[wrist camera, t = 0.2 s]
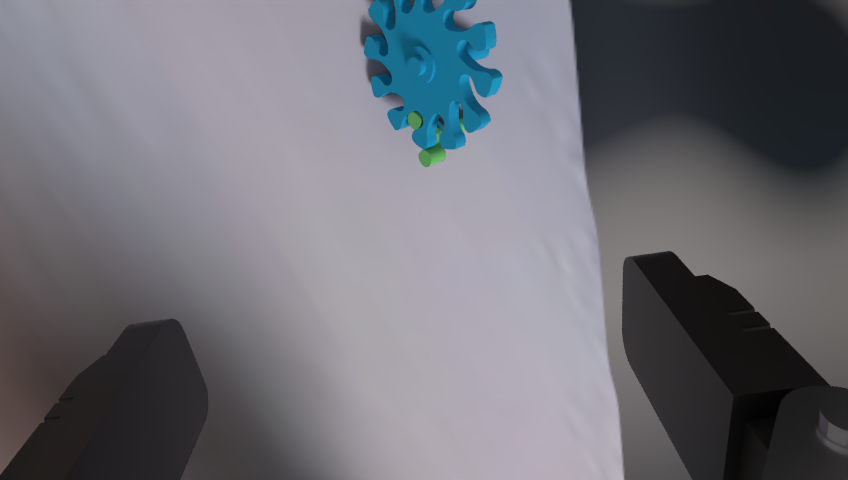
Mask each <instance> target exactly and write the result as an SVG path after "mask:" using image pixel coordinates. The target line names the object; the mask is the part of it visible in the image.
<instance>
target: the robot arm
mask: <svg viewBox="0 0 848 480" xmlns="http://www.w3.org/2000/svg"><path fill="white" fill-rule="evenodd" d="M622 303H623V304H622V335H623V342H624V348H625V351H626V355H627V358H628V361H629V363H630V365H631V368H632V369H633V371H634V373H635V375H636V377H637V379H638V380H639V382H640V384H641V386H642V388H643V389H644V392H645V393H646V395H647V397H648V399H649V401H650V402H651V404H652V406H653V408H654V410H655V412H656V414H657V415H658V417H659V419H660V421H661V423H662V424H663V426H664V428H665V430H666V432H667V434H668V436H669V438H670V439H671V441H672V443H673V445H674V447H675V449H676V450H677V452H678V454H679V456H680V458H681V460H682V462H683V463H684V465H685V467H686V469H687V471H688V472H689V474H690V476H691V478H692V480H848V388H843V387H837V386H830V385H829V384H828V383H827V382H826V381H825V380H824V379H823V378H822V377H821V376H820V375H819V374H818V373H817V372H816V370H814V369H813V367H812V366H811V365H810V364H809V363H808V362H807V361H806V360H805V359H804V358H803V357H802V356H801V355H800V354H799V353H798V352H797V351H796V350H795V349H794V348H793V347H792V346H791V345H790V344H789V343H788V342H787V341H786V340H785V339H784V338H783V337H782V336H781V335H780V334H779V333H778V332H777V331H776V330H775V329H774V328H771V327H770V323H769V322H768V321H767V320H766V319H765V318H764V317H763V316H762V315H761V314H760V313H759V312H755V310H754V307H753V306H752V305H751V304H750V303H749V302H748V301H747V300H746V299H745V298H744V297H743V296H742V295H741V294H740V293H739V292H738V291H737V290H736V289H735V288H733V287H731V286H729V285H727V284H725V283H723V282H721V281H719V280H717V279H715V278H713V277H711V276H709V275H702V276H694V275H693V273H692V272H691V271H690V270H689V269H688V268H687V267H686V266H685V265H684V263H682V261H681V260H680V259H679V258H678V257H677V256H676V255H675V254H674V253H673V252H671V251H667V252H659V253H653V254H645V255H638V256H630V257H627V258H626V259H625V261H624V265H623V302H622ZM207 411H208V394H207V388H206V385H205V382H204V379H203V377H202V374H201V372H200V369H199V367H198V364H197V362H196V359H195V357H194V355H193V352H192V350H191V347H190V345H189V342H188V340H187V337H186V335H185V332H184V330H183V328H182V326H181V324H180V323H179V322H178V321H177V320H175V319H166V320H159V321H151V322H144V323H137V324H131V325H129V326H128V327H127V328H126V329H125V330H124V331H123V333H122V334H121V335H120V337H119V338H118V339H117V341H116V342H115V343H114V345H113V346H112V347H111V349H110V350H109V351H108V353H107V354H106V356H102V357H101V358H99V359H98V360H97V361H96V362H94V363H93V364H92V365H90V366H89V367H88V368H87V369H85V370H84V371H83V372H82V373H80V374H79V375H78V376H77V377H76V378H75V379H74V380H73V382H72V383H71V384H70V386H69V387H68V388H67V389H66V391H65V392H64V393H63V395H62V396H61V397H60V398H59V403H58V404H55V405H54V406H53V408H52V409H51V410H50V411H49V413H48V414H47V415H46V417H45V418H44V419H45V422H44V423H40V424H39V426H38V427H37V428H36V430H35V431H34V432H33V433H32V435H31V436H30V437H29V439H28V440H27V441H26V443H25V444H24V445H23V446H22V448H21V449H20V450H19V452H18V453H17V454H16V455H15V457H14V458H13V459H12V461H11V462H10V463H9V465H8V466H7V467H6V468H5V470H4V471H3V472H2V474H1V475H0V480H180V478H181V476H182V474H183V471H184V469H185V467H186V464H187V462H188V460H189V457H190V455H191V453H192V450H193V448H194V446H195V443H196V441H197V438H198V436H199V434H200V431H201V429H202V427H203V424H204V422H205V419H206V416H207Z"/></svg>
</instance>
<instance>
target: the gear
mask: <svg viewBox="0 0 848 480" xmlns="http://www.w3.org/2000/svg"><path fill="white" fill-rule="evenodd" d="M393 1H394V5H395V14H396V21H395V22H394V8H393V4H392V2H391V0H375V1H374V2H373V3H372V5H371V6H370V8H369V10H368V11H369V15H370V17H371V19H372V20H373V21H374V22H376V23H377V24H378V25H379V27H380V28H381V30H382V31H383V33H384V36H385V38H386V41H387V44H388V47H387V44H386V42H385V39H384V38H383V37H382V36H381V35H373V36H367V38H366V41H365V47H364V54H365V55H366V57H367V58H369V59H376V60H378V61H380V62H381V63H383V64H384V65H385V67H386V68H387V69H388V70H389V71H390V73H391V76H392V79H391V78H390V76H389V75H387V74H380V75H377V76H373V77H372V78H371V85H372V90H373V94H374V96H375V97H382V96H386V95H389V94H391V93H395V94H398V95H400V96H401V97H402V98H403V100H404V106H400V107H397V108H394V109H391V110H389V111H388V114H387V115H388V118H389V120H390V122H391V124H392V126H393V127H394V129H395V130H399V129H402V128H405V127H407V126H409V125H410V126H411V127H412V128H413V129H416V130H414V131H413V134H412V140H413V141H414V142H415V143H416V144H417V145H418V146H419V147H421V148H422V149H424V150H422V151H420V153H419V160H420V162H421V164H422V165H423V166H425V167H428V166H431V165H433V164H436V163H438V162H440V161H443V160H444V159H445V157H446V152H445V149H457V148H459V147H462V146H464V145H465V142H466V139H465V135H464V133H463V131H462V130H464V129H465V130H466V131H467V132H468V133H470V132H474V131H476V130H479V129H481V128H483V127H485V126H486V125H487V124H488V123H489V122H490V121H491V119H490V115H489V113H488V112H487V111H486V110H485V109H484V108H483V107H482V106H481V105H480V104H479V103H478V102H477V100H476V99H475V97H474V95H473V92H472V90H471V86H470V83H469V76H470V77H471V78H472V80H473V83H474V86H475V89H476V91H477V93H478V94H479V95H480V96H482V97H489V96H492V95H495V94H496V93H497V92H498V90H499V88H500V85H501V81H502V77H503V76H502V74H501V73H500V72H499V71H498V70H497V69H489V68H485V67H483V66H481V65H479V64H478V63H477V62H476V61H475V60H478V59H482V58H485V57H487V56H488V54H489V49H491V48H494V47H495V46H496V30H495V25H494V23H493V22H490V21H488V22H483V23H478V24H475V25H473V26H472V27H471V28H470V29H468V30H465V29H461V28H458V27H457V26H456V25H455V23H454V20H453V14H454V11H460V10H466V9H471V8H472V7H473V6H474V5H475V4H476V1H477V0H444V2H443V3H442V5H441V6H440V7H439V8H438V9H436V10H435V9H434V7H433V5H432V0H415V2H414V5H413V7H412V8H411V6H410V0H393ZM468 42H469V44H468ZM459 103H460V104H461V106H462V108H463V118H461V119H459ZM444 148H445V149H444Z"/></svg>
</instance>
